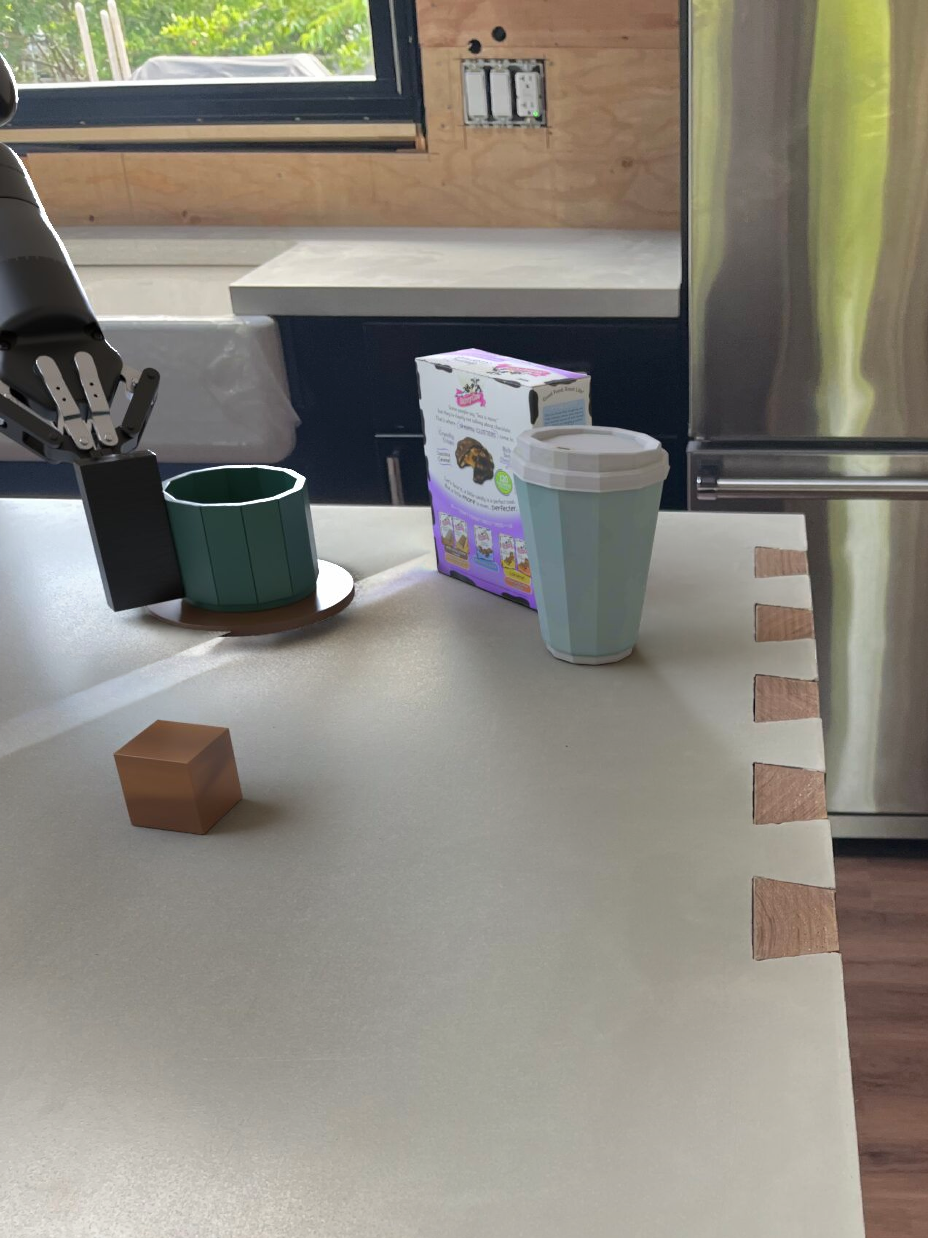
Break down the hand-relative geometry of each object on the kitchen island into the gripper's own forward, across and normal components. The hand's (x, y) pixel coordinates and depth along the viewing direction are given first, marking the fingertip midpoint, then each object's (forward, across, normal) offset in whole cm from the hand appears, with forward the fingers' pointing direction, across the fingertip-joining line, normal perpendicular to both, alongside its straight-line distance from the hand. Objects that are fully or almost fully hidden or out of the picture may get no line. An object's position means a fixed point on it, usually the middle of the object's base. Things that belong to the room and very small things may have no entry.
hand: (120, 504), depth 94 cm
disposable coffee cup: (+23, +24, -11) cm, 35 cm away
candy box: (+13, +26, 0) cm, 29 cm away
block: (+27, -8, -15) cm, 32 cm away
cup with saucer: (+8, +6, +3) cm, 10 cm away
